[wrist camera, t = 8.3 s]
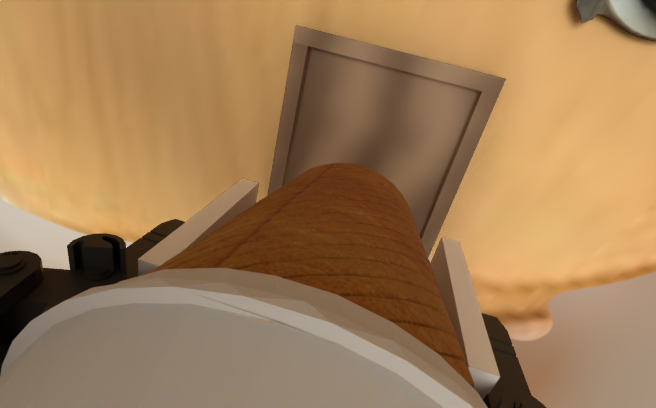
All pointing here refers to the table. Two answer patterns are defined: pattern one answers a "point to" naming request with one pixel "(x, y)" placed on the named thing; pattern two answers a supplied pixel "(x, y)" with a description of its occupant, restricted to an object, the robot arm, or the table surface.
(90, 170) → the table surface
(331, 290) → the disposable coffee cup
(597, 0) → the salad plate
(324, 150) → the walnut tray
